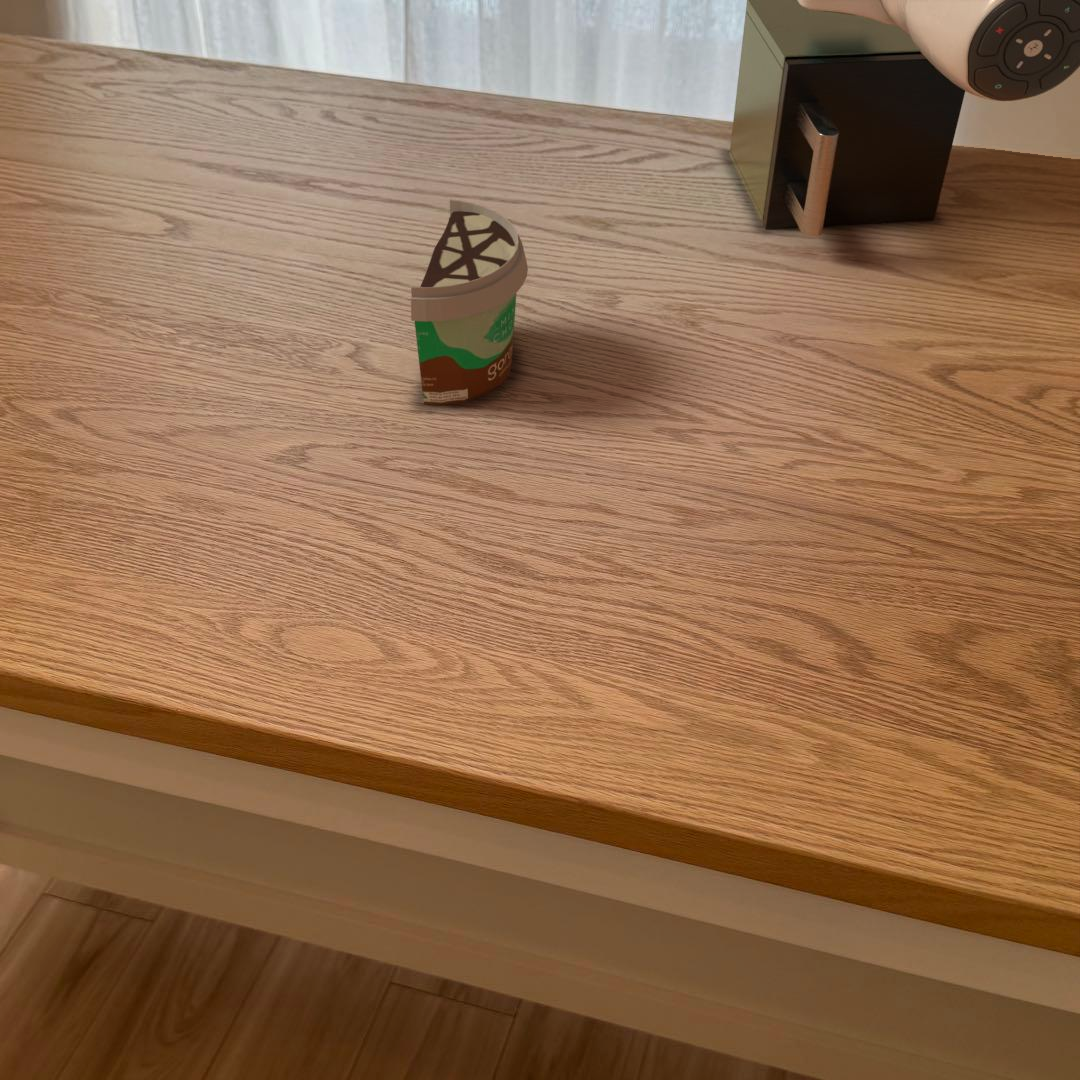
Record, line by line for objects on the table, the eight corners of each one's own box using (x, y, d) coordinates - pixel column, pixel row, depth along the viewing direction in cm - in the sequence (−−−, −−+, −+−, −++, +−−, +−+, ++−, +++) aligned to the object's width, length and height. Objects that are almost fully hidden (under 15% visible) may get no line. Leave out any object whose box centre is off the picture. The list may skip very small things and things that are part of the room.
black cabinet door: (958, 261, 97) (1003, 89, 87) (783, 271, 96) (809, 98, 86) (929, 219, 102) (969, 51, 92) (761, 227, 101) (785, 59, 91)
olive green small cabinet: (927, 219, 102) (968, 48, 92) (761, 228, 101) (784, 56, 91) (882, 153, 111) (915, -9, 101) (728, 160, 110) (747, -3, 100)
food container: (511, 433, 81) (509, 300, 74) (419, 423, 82) (408, 292, 75) (541, 329, 90) (541, 202, 83) (457, 321, 91) (451, 195, 84)
